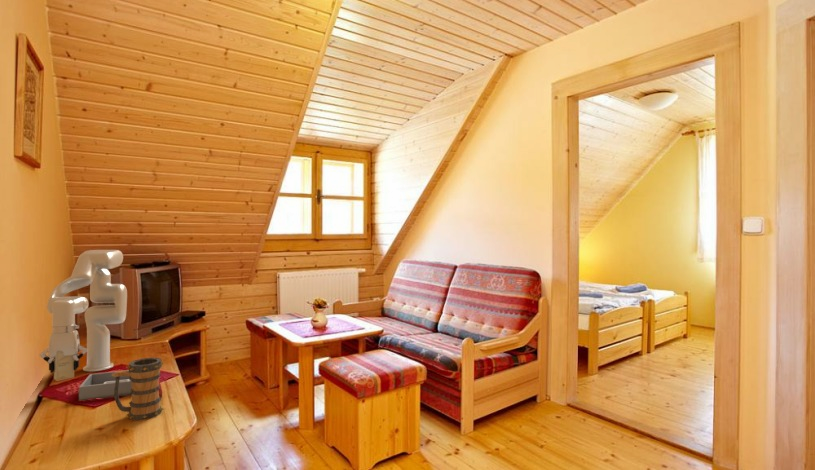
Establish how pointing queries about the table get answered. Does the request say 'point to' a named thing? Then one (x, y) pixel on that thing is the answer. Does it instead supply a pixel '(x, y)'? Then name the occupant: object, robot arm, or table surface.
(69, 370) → the skincare box
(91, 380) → the walled box
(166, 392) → the table surface
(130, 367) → the mug
